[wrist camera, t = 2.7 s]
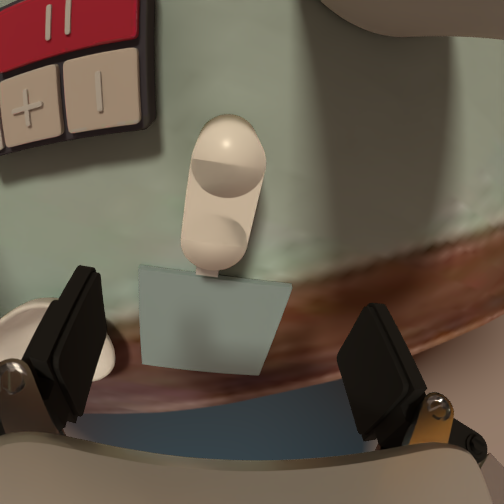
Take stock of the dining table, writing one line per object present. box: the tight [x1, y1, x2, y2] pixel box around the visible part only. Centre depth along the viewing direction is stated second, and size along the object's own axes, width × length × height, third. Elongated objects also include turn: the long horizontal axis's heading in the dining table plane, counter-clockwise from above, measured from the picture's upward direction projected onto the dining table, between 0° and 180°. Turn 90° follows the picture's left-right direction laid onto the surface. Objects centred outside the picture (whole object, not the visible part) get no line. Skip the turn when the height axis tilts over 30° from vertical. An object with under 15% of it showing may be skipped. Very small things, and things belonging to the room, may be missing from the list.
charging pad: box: [139, 265, 292, 375], centre depth 30 cm, size 13×13×1 cm
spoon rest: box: [0, 298, 115, 381], centre depth 25 cm, size 24×12×7 cm, turn 85°
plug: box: [181, 114, 266, 277], centre depth 20 cm, size 11×4×5 cm, turn 168°
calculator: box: [0, 0, 156, 156], centre depth 14 cm, size 11×4×15 cm
